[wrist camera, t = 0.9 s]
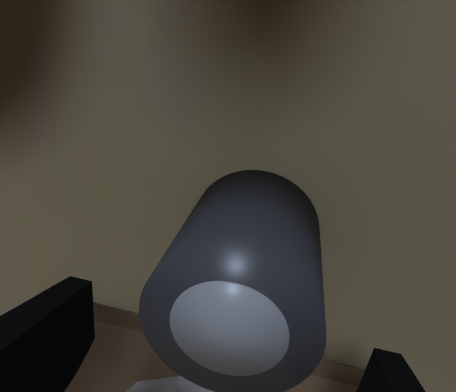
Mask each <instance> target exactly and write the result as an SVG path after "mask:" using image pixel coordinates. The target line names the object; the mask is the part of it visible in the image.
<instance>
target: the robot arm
mask: <svg viewBox="0 0 456 392" xmlns="http://www.w3.org/2000/svg"><path fill="white" fill-rule="evenodd" d="M94 339H95V328H94V311H93V294H92V281H88V280H84V279H80V278H75V277H71V276H70V277H68V278H66V279H65V280H63V281H61V282H59V283H57V284H56V285H54V286H52V287H50V288H49V289H47V290H45V291H43V292H42V293H40V294H38V295H36V296H35V297H33V298H31V299H29V300H28V301H26V302H24V303H23V304H21V305H19V306H17V307H16V308H14V309H12V310H10V311H8V312H7V313H5V314H3V315H1V316H0V392H64V391H65V390H66V388H67V387H68V386H69V384H70V383H71V381H72V380H73V378H74V377H75V375H76V373H77V371H78V370H79V368H80V366H81V364H82V362H83V360H84V359H85V357H86V355H87V353H88V351H89V349H90V347H91V345H92V343H93V341H94ZM356 392H425V390H424V389H423V387H422V386H421V384H420V383H419V381H418V379H417V378H416V376H415V375H414V373H413V372H412V370H411V369H410V367H409V365H408V364H407V362H406V361H405V359H404V358H403V356H402V355H401V354H398V353H394V352H390V351H385V350H381V349H377V348H374V350H373V352H372V355H371V357H370V360H369V362H368V364H367V367H366V369H365V372H364V374H363V376H362V379H361V381H360V384H359V386H358V388H357V391H356Z"/></svg>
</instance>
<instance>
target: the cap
mask: <svg viewBox="0 0 456 392" xmlns="http://www.w3.org/2000/svg"><path fill="white" fill-rule="evenodd" d="M139 318H140V322H141V327H142V330H143V332H144V335H145V337H146V339H147V341H148V343H149V345H150V346H151V347H152V349H153V350H154V352H155V353H156V354H157V355H158V357H159V358H160V359H161V360H162V361H163V362H164V363H165V364H166V365H167V366H168V367H169V368H171V369H172V370H173V371H175V372H176V373H177V374H179V375H180V376H182V377H183V378H185V379H186V380H188V381H190V382H192V383H194V384H196V385H198V386H200V387H203V388H205V389H208V390H211V391H214V392H283V391H286V390H288V389H291V388H293V387H295V386H296V385H298V384H300V383H301V382H303V381H304V380H305V379H306V378H308V377H309V376H310V375H311V374H312V372H313V371H314V370H315V369H316V367H317V366H318V364H319V363H320V361H321V358H322V356H323V354H324V349H325V345H326V326H325V310H324V294H323V278H322V261H321V245H320V229H319V220H318V216H317V213H316V210H315V208H314V206H313V204H312V202H311V201H310V199H309V198H308V196H307V195H306V194H305V193H304V192H303V191H302V190H301V189H300V188H299V187H298V186H297V185H295V184H294V183H292V182H291V181H290V180H288V179H286V178H284V177H282V176H279V175H277V174H274V173H270V172H266V171H259V170H245V171H238V172H235V173H231V174H228V175H226V176H224V177H222V178H220V179H218V180H217V181H215V182H214V183H213V184H212V185H210V187H209V188H208V189H207V190H206V191H205V192H204V194H203V195H202V196H201V198H200V200H199V201H198V203H197V204H196V206H195V207H194V209H193V210H192V212H191V214H190V215H189V217H188V218H187V220H186V221H185V223H184V225H183V226H182V228H181V229H180V231H179V232H178V234H177V235H176V237H175V239H174V240H173V242H172V243H171V245H170V246H169V248H168V249H167V251H166V253H165V254H164V256H163V257H162V259H161V260H160V262H159V263H158V265H157V267H156V268H155V270H154V271H153V273H152V274H151V276H150V278H149V279H148V281H147V282H146V284H145V286H144V288H143V290H142V294H141V297H140V303H139Z"/></svg>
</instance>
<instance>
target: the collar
mask: <svg viewBox="0 0 456 392" xmlns="http://www.w3.org/2000/svg"><path fill="white" fill-rule="evenodd" d="M93 311H94V328H95V339H94V341H93V343H92V345H91V347H90V349H89V351H88V353H87V355H86V357H85V359H84V360H83V362H82V364H81V366H80V368H79V370H78V371H77V373H76V375H75V377H74V378H73V380H72V381H71V383H70V384H69V386H68V387H67V388H66V390H65V391H64V392H214V391H211V390H208V389H205V388H203V387H200V386H198V385H196V384H194V383H192V382H190V381H188V380H186V379H185V378H183V377H182V376H180V375H179V374H177V373H176V372H175V371H173V370H172V369H171V368H169V367H168V366H167V365H166V364H165V363H164V362H163V361H162V360H161V359H160V358H159V357H158V355H157V354H156V353H155V352H154V350H153V349H152V347H151V346H150V345H149V343H148V341H147V339H146V337H145V335H144V332H143V330H142V327H141V322H140V318H139V314H137V313H133V312H129V311H125V310H121V309H117V308H113V307H109V306H105V305H101V304H97V303H93ZM364 372H365V370H363V369H359V368H355V367H351V366H347V365H343V364H339V363H335V362H331V361H327V360H323V359H321V361H320V363H319V364H318V366H317V367H316V369H315V370H314V371H313V372H312V374H311V375H310V376H309V377H308V378H306V379H305V380H304V381H303V382H301V383H300V384H298V385H296V386H295V387H293V388H291V389H288V390H286V391H283V392H356V391H357V388H358V386H359V384H360V381H361V379H362V376H363V374H364Z"/></svg>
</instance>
